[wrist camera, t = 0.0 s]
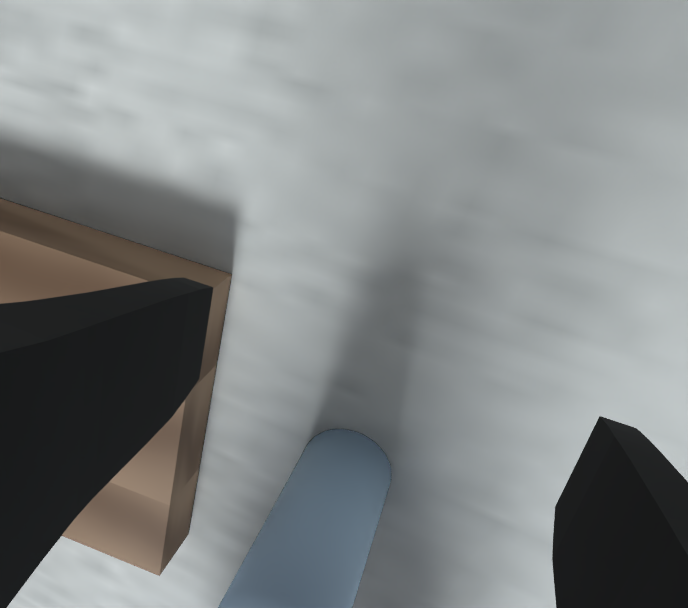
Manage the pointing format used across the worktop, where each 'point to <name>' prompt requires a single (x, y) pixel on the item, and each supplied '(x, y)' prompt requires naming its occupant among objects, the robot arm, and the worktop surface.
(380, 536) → the worktop surface
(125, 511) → the socket block
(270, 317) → the worktop surface
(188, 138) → the worktop surface
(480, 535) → the worktop surface
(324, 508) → the peg
